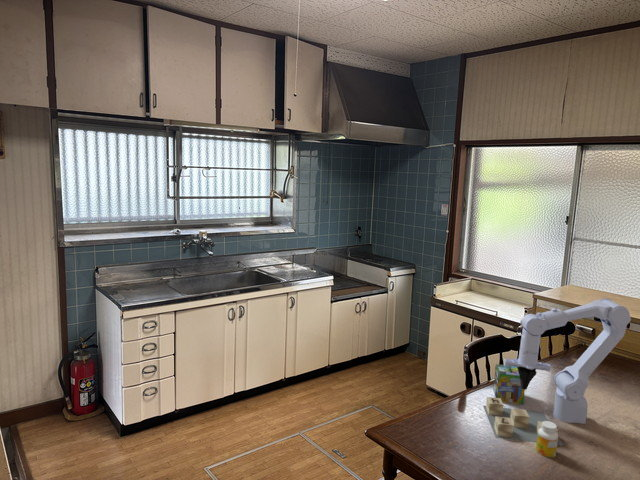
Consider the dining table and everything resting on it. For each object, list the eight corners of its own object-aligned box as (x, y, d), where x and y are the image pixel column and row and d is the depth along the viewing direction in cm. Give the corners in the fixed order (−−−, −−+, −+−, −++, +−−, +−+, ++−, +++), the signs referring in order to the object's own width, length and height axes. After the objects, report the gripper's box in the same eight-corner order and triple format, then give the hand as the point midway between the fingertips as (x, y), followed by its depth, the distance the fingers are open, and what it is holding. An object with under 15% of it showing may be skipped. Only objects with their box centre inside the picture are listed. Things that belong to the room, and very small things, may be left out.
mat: (542, 414, 161) (542, 411, 161) (563, 448, 141) (564, 445, 141) (482, 408, 164) (482, 405, 164) (495, 440, 144) (495, 437, 144)
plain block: (524, 421, 154) (525, 409, 154) (528, 428, 150) (529, 416, 149) (510, 419, 155) (511, 408, 154) (513, 426, 151) (514, 415, 150)
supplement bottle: (531, 449, 140) (535, 419, 139) (548, 449, 141) (552, 419, 139) (541, 460, 135) (545, 429, 134) (559, 460, 136) (563, 429, 134)
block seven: (508, 429, 149) (510, 417, 148) (512, 437, 144) (513, 425, 144) (494, 427, 150) (495, 416, 149) (497, 435, 145) (498, 423, 144)
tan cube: (551, 434, 147) (553, 422, 146) (556, 442, 143) (558, 430, 142) (536, 432, 148) (538, 420, 147) (541, 440, 143) (542, 428, 143)
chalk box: (523, 407, 166) (527, 368, 163) (496, 403, 167) (500, 364, 165) (517, 395, 175) (522, 357, 172) (492, 391, 176) (496, 354, 174)
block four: (499, 409, 162) (500, 398, 161) (502, 415, 157) (503, 404, 157) (485, 407, 162) (487, 396, 162) (488, 414, 158) (489, 403, 157)
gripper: (509, 352, 152) (504, 390, 155) (556, 357, 150) (550, 396, 153) (504, 344, 159) (499, 381, 161) (548, 349, 157) (543, 386, 159)
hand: (523, 388), depth 157 cm, fingers closed
